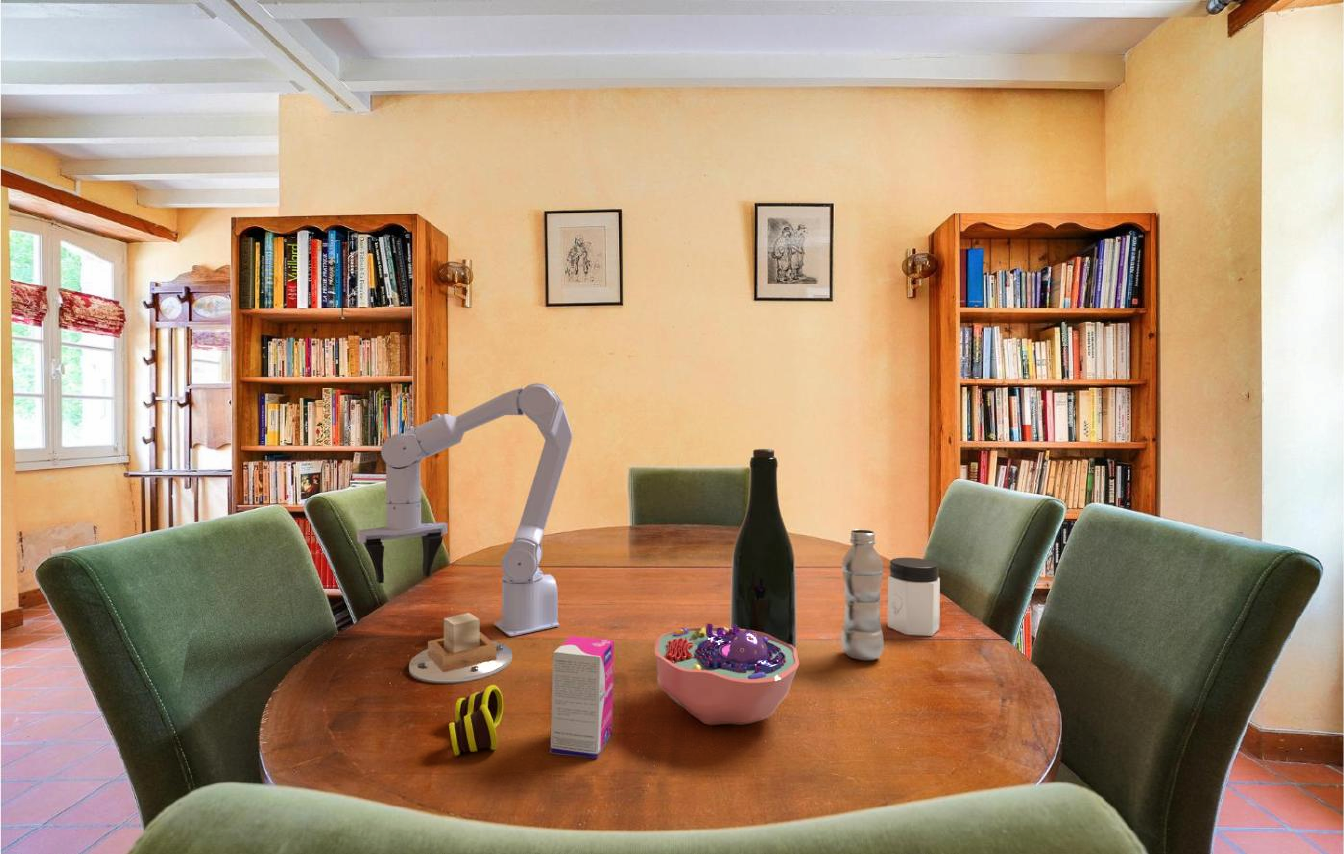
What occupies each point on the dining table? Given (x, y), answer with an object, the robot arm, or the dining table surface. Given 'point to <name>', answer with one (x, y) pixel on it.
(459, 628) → the beige wooden block
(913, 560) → the jar
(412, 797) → the dining table surface
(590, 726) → the supplement box
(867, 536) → the plastic bottle
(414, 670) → the tray on oval base
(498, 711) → the opera glasses
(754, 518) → the wine bottle
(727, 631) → the cell model
